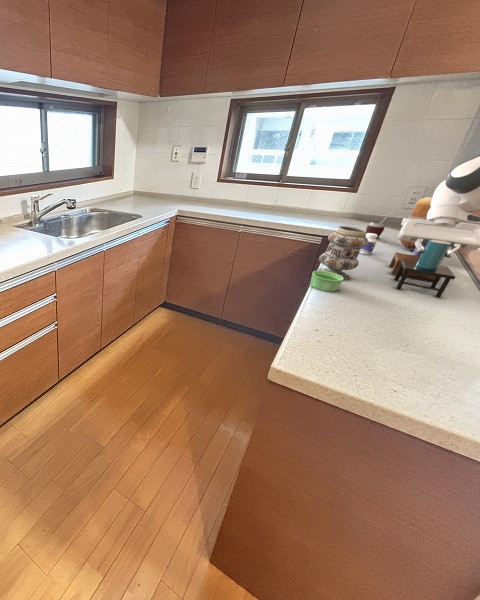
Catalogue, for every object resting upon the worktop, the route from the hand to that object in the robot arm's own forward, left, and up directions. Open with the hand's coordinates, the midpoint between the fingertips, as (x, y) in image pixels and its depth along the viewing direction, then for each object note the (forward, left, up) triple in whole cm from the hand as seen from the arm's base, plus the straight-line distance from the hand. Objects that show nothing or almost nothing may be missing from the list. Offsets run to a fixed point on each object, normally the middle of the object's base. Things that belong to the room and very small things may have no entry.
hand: (434, 254), depth 108 cm
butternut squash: (-5, -62, -13) cm, 63 cm away
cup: (0, -1, -5) cm, 5 cm away
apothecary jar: (+24, +3, -13) cm, 27 cm away
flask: (-6, -40, -13) cm, 42 cm away
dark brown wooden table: (0, -1, -13) cm, 13 cm away
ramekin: (+26, +20, -13) cm, 35 cm away
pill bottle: (+14, -41, -13) cm, 45 cm away
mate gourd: (+10, -78, -13) cm, 79 cm away
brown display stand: (0, -19, -13) cm, 23 cm away
